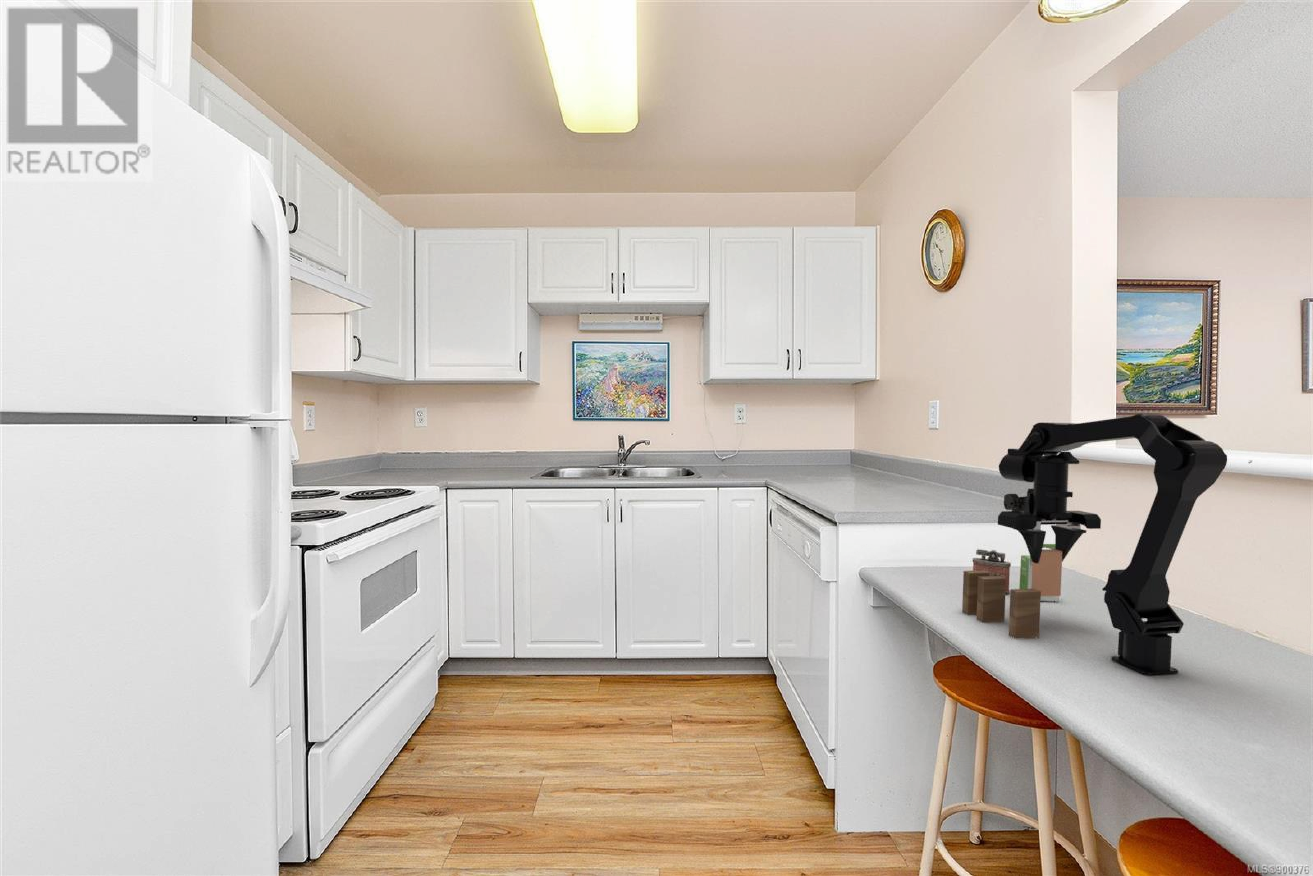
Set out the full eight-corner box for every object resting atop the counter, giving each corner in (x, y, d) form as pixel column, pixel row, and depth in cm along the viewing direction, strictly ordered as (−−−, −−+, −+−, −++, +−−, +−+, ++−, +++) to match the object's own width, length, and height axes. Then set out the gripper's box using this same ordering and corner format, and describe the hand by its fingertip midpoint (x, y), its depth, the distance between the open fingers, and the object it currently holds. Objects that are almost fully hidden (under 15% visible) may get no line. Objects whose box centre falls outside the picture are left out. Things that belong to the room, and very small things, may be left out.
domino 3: (1039, 637, 114) (1040, 591, 113) (1015, 639, 113) (1017, 592, 112) (1031, 634, 115) (1033, 588, 115) (1008, 635, 115) (1010, 589, 114)
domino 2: (1004, 621, 122) (1006, 578, 122) (982, 622, 122) (984, 579, 121) (998, 618, 124) (999, 576, 124) (976, 619, 123) (978, 576, 123)
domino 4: (1031, 593, 120) (1033, 549, 120) (1053, 593, 121) (1055, 549, 120) (1038, 596, 118) (1040, 551, 118) (1060, 595, 119) (1062, 551, 119)
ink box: (1049, 597, 140) (1052, 540, 139) (1059, 602, 136) (1061, 544, 135) (1018, 596, 141) (1020, 539, 140) (1027, 601, 137) (1029, 543, 136)
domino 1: (988, 614, 127) (990, 572, 127) (967, 615, 126) (969, 573, 126) (983, 611, 129) (984, 570, 128) (962, 612, 128) (963, 571, 128)
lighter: (1009, 592, 143) (1011, 551, 143) (1009, 595, 140) (1011, 554, 140) (972, 586, 148) (973, 547, 147) (970, 590, 145) (972, 549, 144)
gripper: (1058, 480, 128) (1055, 552, 129) (980, 480, 125) (977, 554, 126) (1104, 487, 117) (1101, 565, 118) (1020, 487, 114) (1017, 567, 115)
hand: (1047, 562), depth 119 cm, fingers closed on domino 4, 5 cm apart
